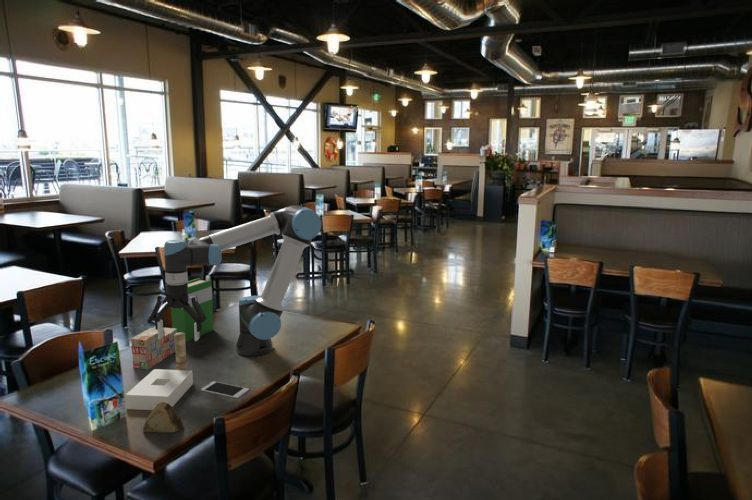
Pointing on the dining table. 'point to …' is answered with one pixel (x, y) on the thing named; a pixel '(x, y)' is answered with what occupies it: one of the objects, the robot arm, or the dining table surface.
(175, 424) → the rock
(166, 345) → the stack of blocks
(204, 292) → the hardback book
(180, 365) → the beech peg
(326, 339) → the dining table surface
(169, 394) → the hole board
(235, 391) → the smartphone
